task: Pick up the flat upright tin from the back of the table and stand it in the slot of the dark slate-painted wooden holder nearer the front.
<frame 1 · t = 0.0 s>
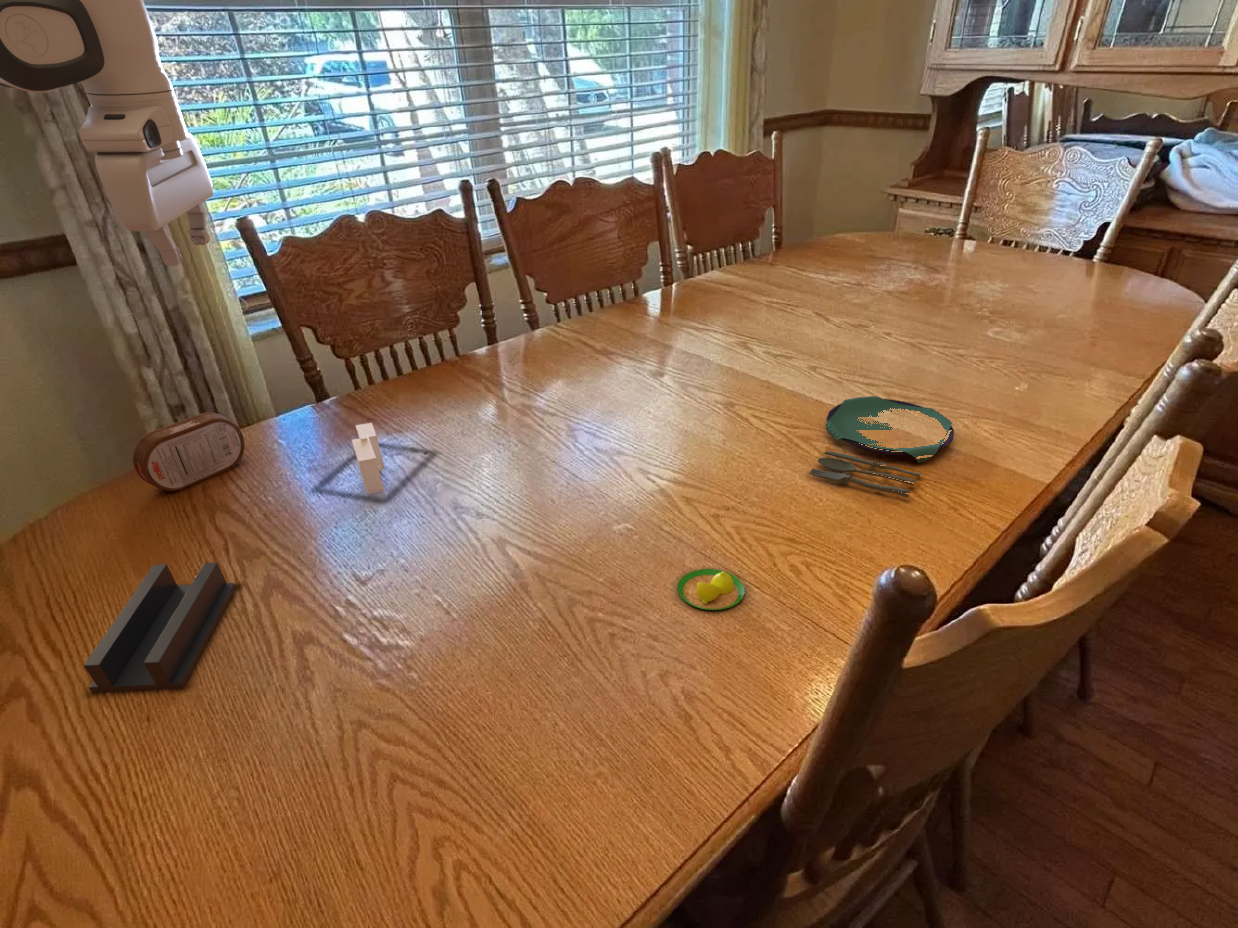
hand: (189, 253, 95), 28 cm above the table, tool pointing down, fingers open, 8 cm apart
tin: (203, 479, 108), on the table
holder: (171, 637, 82), on the table
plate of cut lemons: (710, 594, 89), on the table
cutlery set: (877, 449, 117), on the table
beige double block: (377, 474, 110), on the table
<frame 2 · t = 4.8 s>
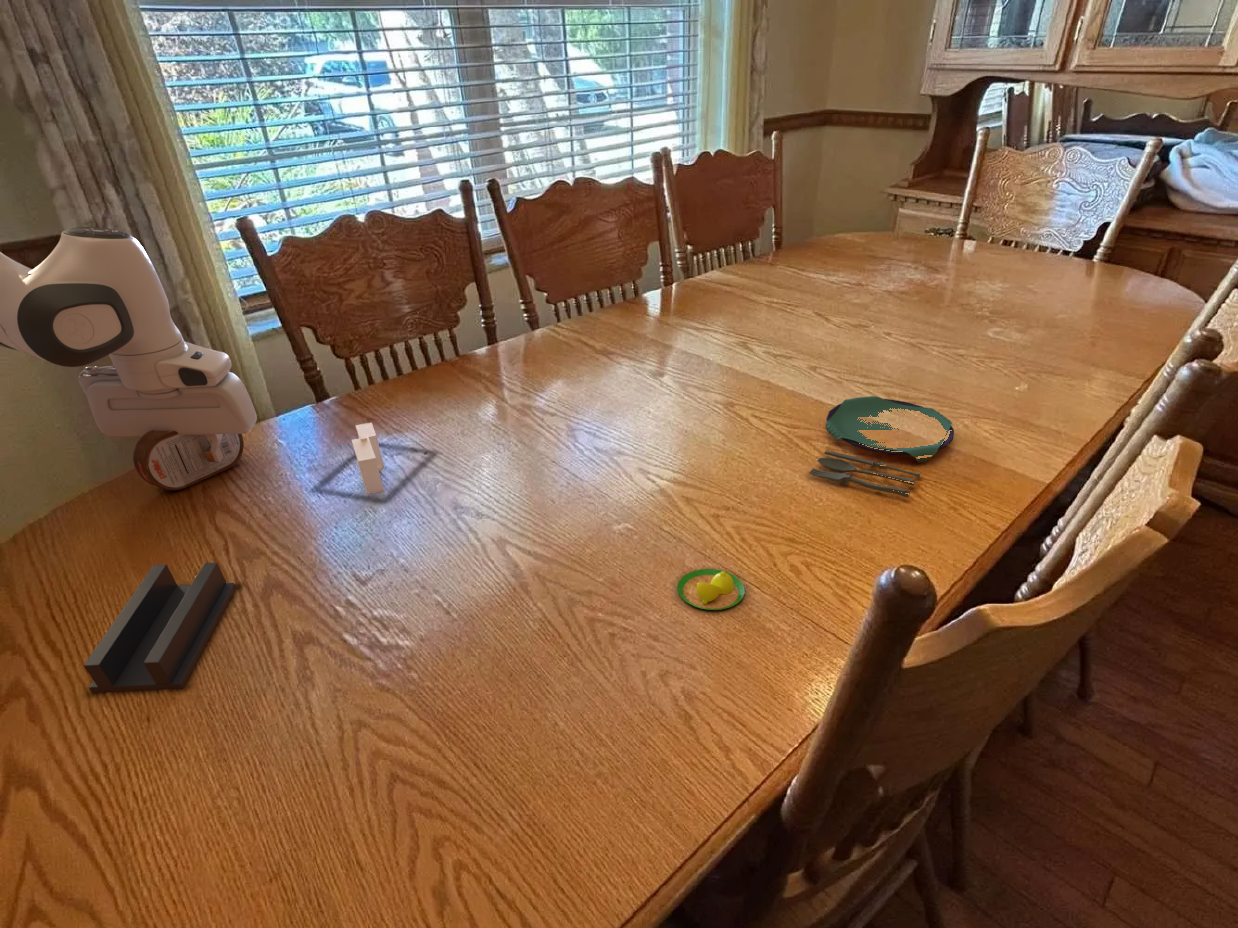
hand: (195, 461, 106), 3 cm above the table, tool pointing down, fingers closed on tin, 4 cm apart
tin: (204, 478, 108), on the table, touching gripper
everything else where it was.
when the fingers open (5 cm above the table, at t = 14.6 s): tin drops 1 cm, point 1 cm above the table.
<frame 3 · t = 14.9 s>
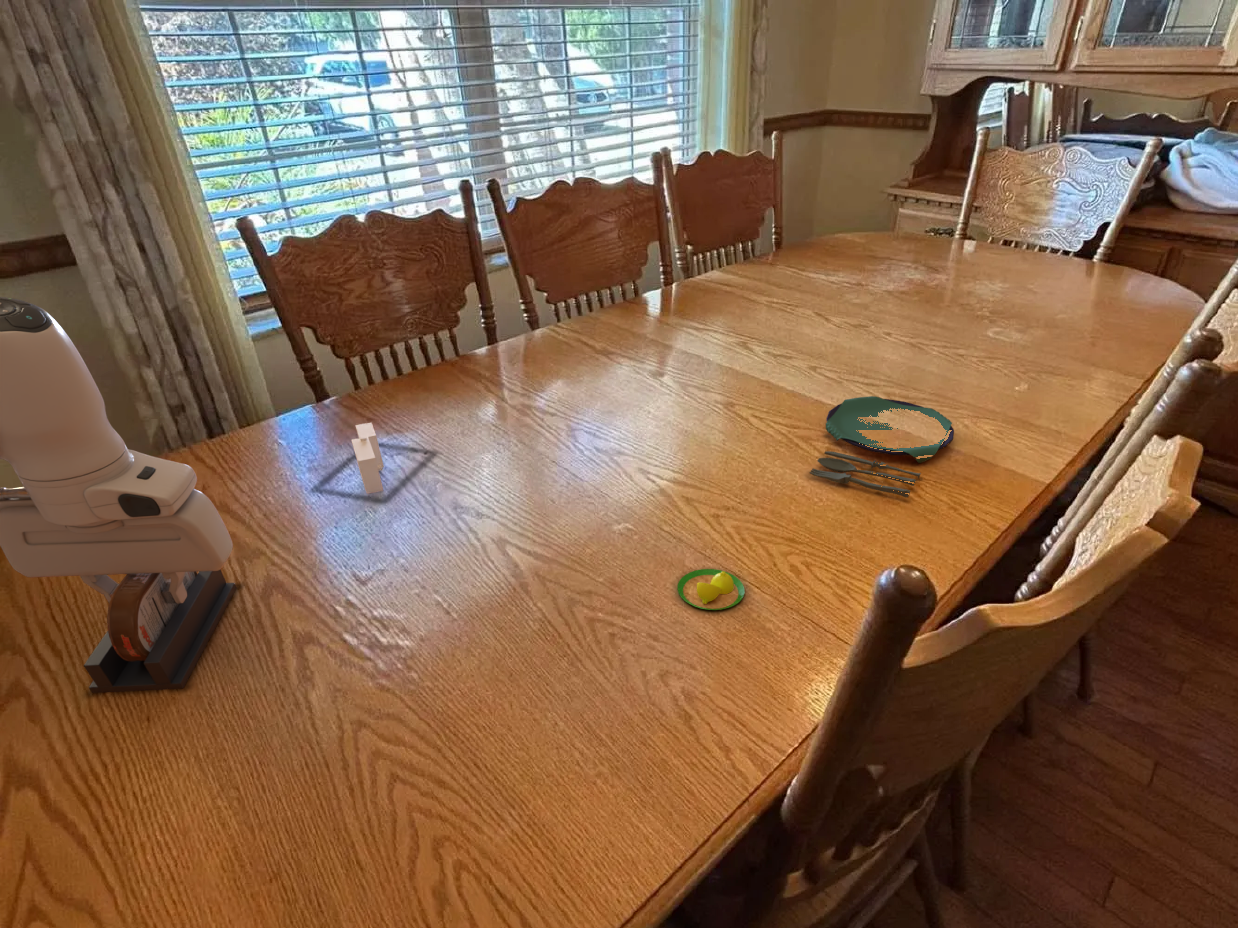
hand: (150, 601, 79), 5 cm above the table, tool pointing down, fingers open, 4 cm apart
tin: (174, 631, 82), point 1 cm above the table, touching gripper
everything else where it was.
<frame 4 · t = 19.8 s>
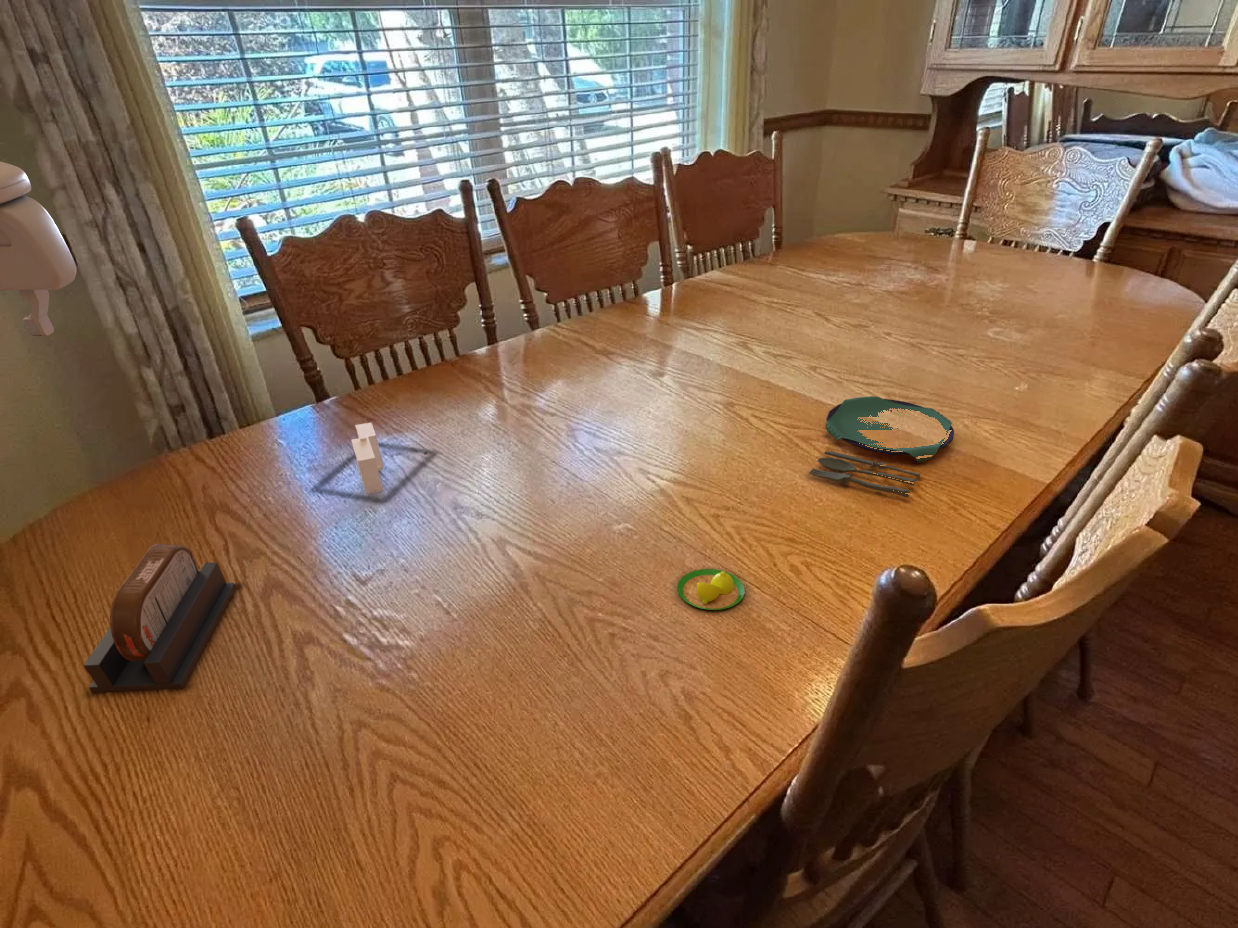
tin: (176, 631, 82), point 1 cm above the table, touching holder
everything else where it was.
at the end: tin 0.9 cm off-centre on the holder, point 0.8 cm above the holder's base; tin tilted 0°; the gripper is holding nothing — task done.
